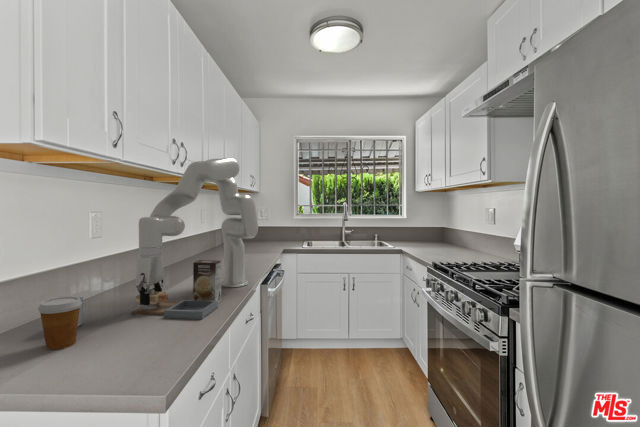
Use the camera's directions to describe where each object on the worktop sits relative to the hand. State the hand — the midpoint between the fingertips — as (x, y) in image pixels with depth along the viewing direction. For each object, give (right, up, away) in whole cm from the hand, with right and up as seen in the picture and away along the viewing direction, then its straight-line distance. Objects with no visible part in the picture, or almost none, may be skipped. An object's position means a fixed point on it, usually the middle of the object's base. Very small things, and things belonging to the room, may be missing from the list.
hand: (151, 301), depth 126 cm
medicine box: (-16, -4, -18) cm, 25 cm away
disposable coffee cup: (-10, -4, -31) cm, 32 cm away
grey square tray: (+15, -3, -2) cm, 16 cm away
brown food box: (+17, -3, +10) cm, 20 cm away
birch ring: (0, 0, 0) cm, 0 cm away
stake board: (+2, -3, +2) cm, 4 cm away
